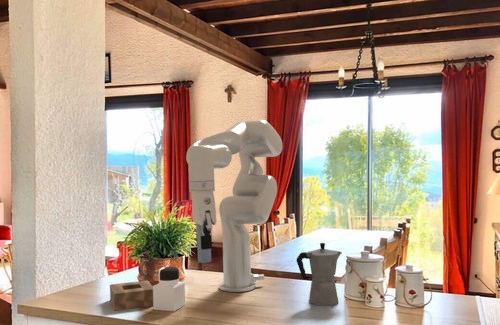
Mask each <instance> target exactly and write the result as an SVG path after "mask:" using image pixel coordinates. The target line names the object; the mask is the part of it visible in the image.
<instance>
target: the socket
mask: <svg viewBox="0 0 500 325" xmlns="http://www.w3.org/2000/svg"><path fill="white" fill-rule="evenodd" d="M153 286H154V285H152V284H151V282H150V281H149V280H139V281H138V280H137V281H131V282H123V283H114V284H109V300H110V303H111V306H112V308H113V310H114V311H121V310H130V309H138V308H145V307H153Z"/></svg>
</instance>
